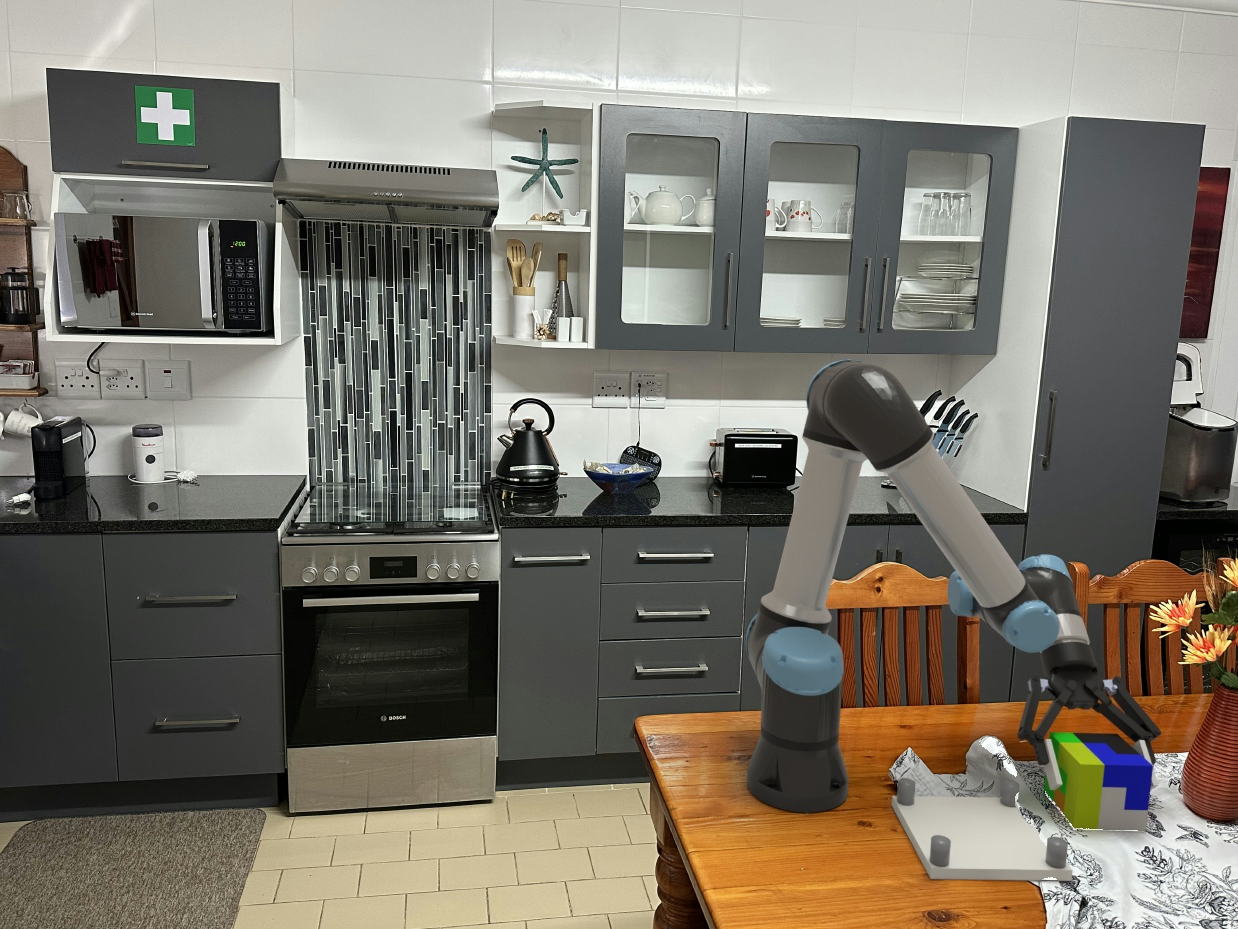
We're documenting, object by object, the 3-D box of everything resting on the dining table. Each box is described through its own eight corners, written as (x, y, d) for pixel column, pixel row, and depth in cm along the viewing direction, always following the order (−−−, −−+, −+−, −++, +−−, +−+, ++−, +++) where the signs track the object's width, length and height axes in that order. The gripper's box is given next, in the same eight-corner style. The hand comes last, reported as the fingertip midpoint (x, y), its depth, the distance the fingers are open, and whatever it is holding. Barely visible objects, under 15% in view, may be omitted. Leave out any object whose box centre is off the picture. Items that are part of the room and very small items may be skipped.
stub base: (930, 879, 121) (933, 846, 120) (891, 805, 139) (893, 777, 138) (1071, 881, 121) (1074, 848, 120) (1014, 807, 139) (1016, 778, 138)
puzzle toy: (1145, 832, 133) (1153, 766, 131) (1073, 830, 133) (1080, 764, 131) (1110, 795, 143) (1117, 733, 141) (1043, 794, 143) (1049, 732, 141)
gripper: (1134, 660, 150) (1178, 796, 138) (977, 658, 150) (1007, 794, 138) (1156, 640, 144) (1204, 780, 132) (992, 638, 144) (1025, 778, 132)
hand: (1104, 788), depth 135 cm, fingers open, 13 cm apart
